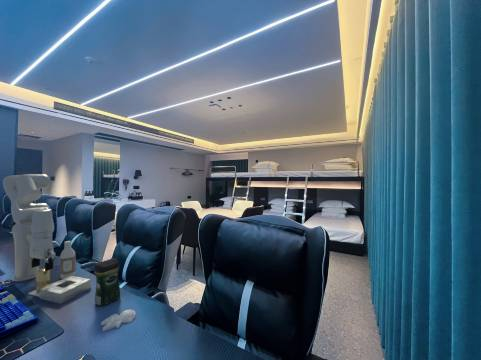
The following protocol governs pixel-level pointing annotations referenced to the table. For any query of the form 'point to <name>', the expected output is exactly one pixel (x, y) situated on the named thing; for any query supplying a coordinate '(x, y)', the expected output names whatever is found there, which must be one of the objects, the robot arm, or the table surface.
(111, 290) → the coffee jar
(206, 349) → the table surface
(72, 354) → the table surface
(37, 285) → the end cover
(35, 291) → the mat
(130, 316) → the astronaut figurine
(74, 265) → the bath foam
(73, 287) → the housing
